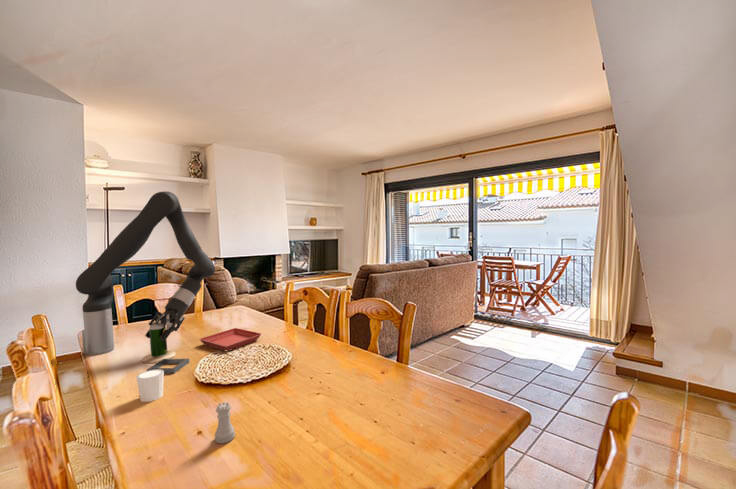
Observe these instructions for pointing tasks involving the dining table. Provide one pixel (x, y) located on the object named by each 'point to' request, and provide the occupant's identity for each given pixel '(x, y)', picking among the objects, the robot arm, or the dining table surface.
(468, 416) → the dining table surface
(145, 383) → the white tapered cylinder
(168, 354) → the coaster
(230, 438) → the rook chess piece
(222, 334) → the plant saucer
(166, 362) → the collar
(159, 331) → the beer can
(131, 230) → the robot arm
